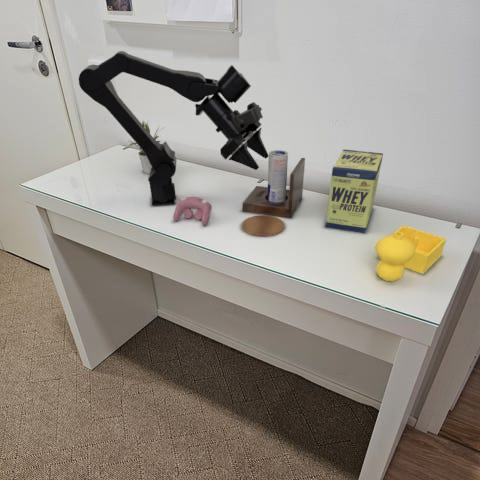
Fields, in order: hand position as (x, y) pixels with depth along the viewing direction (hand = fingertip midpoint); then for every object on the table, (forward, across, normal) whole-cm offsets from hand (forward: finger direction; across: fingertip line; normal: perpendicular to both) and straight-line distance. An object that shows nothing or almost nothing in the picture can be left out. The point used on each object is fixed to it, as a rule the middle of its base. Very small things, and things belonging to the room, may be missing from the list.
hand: (262, 162), depth 118 cm
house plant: (-23, +14, +40) cm, 48 cm away
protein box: (+26, -2, -9) cm, 28 cm away
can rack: (+11, 0, +6) cm, 12 cm away
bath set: (+36, -23, -19) cm, 47 cm away
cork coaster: (+11, -14, +5) cm, 18 cm away
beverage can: (+12, 0, +6) cm, 13 cm away
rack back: (+15, 0, +1) cm, 15 cm away
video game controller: (-2, -15, +19) cm, 24 cm away
